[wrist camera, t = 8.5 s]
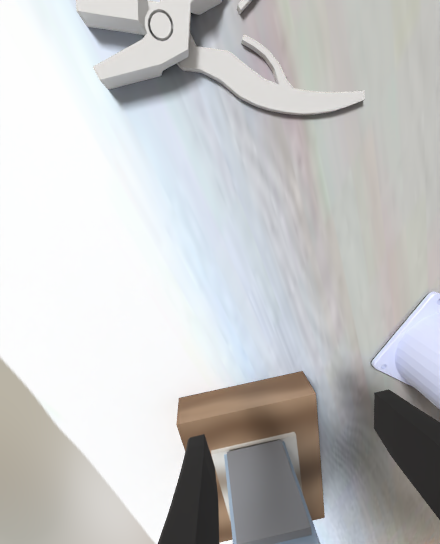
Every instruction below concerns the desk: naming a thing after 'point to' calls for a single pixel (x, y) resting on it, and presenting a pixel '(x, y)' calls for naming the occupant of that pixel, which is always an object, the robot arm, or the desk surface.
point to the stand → (258, 431)
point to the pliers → (196, 55)
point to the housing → (266, 497)
